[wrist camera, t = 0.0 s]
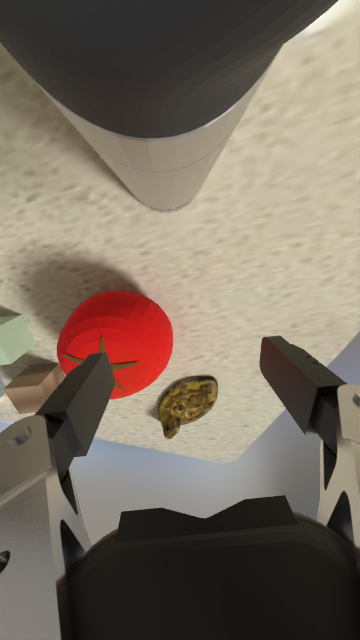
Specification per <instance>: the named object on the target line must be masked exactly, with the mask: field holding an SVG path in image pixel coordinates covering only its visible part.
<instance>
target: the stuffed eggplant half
mask: <svg viewBox="0 0 360 640" xmlns="http://www.w3.org/2000/svg"><path fill="white" fill-rule="evenodd" d="M217 394H218V384H217V381H216V379H215V378H213V377H211V378H201V377H192V378H188V379H185V380H182V381H180V382H178V383H177V384H175V385H174V386H173V387H171V388H170V389H169V390H168V391H167V392H166V393H165V395H164V396H163V398H162V399H161V402H160V404H159V418H160V421H161V424H162V427H163V432H164V436H165V438H166V439H171V438H172V437H173V436H174V435H175V434H176V433H178V431H179V428H180V425H184V424H187V423H191V422H193V421H196V420H198V419H199V418H201V417H202V416H204V415H205V414H206V413H207V412H208V411H209V410H211V409H212V407H213V406H214V404H215V402H216V399H217Z"/></svg>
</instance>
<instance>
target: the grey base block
mask: <svg viewBox="0 0 360 640" xmlns="http://www.w3.org/2000/svg"><path fill="white" fill-rule="evenodd" d="M5 387H6V386H5V384H4V382H3V381H2V379H1V378H0V397H1V396H3V395H4V394H5V391H4V390H3V389H4V388H5Z"/></svg>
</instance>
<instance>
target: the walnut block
mask: <svg viewBox="0 0 360 640" xmlns="http://www.w3.org/2000/svg"><path fill="white" fill-rule="evenodd" d="M64 378H65V376H64V374H63V372H62V369H61V367H60V365H59V364H48V365H38V366H28V367H27V368H26V369H25V370H24V371H23V372H22V373H21V374H20V375H18V376H17V377H16V378H15V379H14V380H13V381H12V382H11V383H10V384H8V385H7V386H6V387H5V388H4V389H3V390H4V391H5V393H6V394H7V396H8V397H9V399H10V400H11V402H12V403H13V405H14V406H15V408H16V409H17V411H18V412H19V414H23V413H33V412H37V411H38V410H39V409H40V408H41V406H42V405H43V404H44V403H45V401H46V400H47V399H48V398H49V396H50V395H51V394H52V393H53V392H54V390H55V389H57V388H58V385H59V384H60V383H61V382H62V381H63V379H64Z"/></svg>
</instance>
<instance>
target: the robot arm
mask: <svg viewBox="0 0 360 640" xmlns="http://www.w3.org/2000/svg"><path fill="white" fill-rule="evenodd" d="M337 1H338V0H0V42H1V44H2V45H3V46H4V47H5V48H6V49H7V50H8V52H9V53H10V54H11V55H12V56H13V57H14V58H15V60H16V61H17V62H18V63H19V64H20V65H21V67H22V68H23V69H24V70H25V71H26V72H27V73H28V75H29V76H30V77H31V78H32V79H33V80H34V81H35V83H36V84H37V85H38V86H39V87H40V88H41V89H42V91H43V92H44V93H45V94H46V95H47V96H48V98H49V99H50V100H51V101H52V102H53V103H54V104H55V106H56V107H57V108H58V109H59V110H60V111H61V112H62V114H63V115H64V116H65V117H66V118H67V119H68V120H69V122H70V123H71V124H72V125H73V126H74V127H75V128H76V129H77V130H78V131H79V133H80V134H81V135H82V136H83V137H84V138H85V140H86V141H87V142H88V143H89V144H90V145H91V146H92V148H93V149H94V150H95V151H96V152H97V153H98V154H99V156H100V157H101V158H102V159H103V160H104V161H105V163H106V164H107V165H108V166H109V167H110V168H111V169H112V171H113V172H114V173H115V174H116V175H117V176H118V178H119V179H120V180H121V181H122V182H123V183H124V184H125V186H126V187H127V188H128V189H129V190H130V191H131V193H132V194H133V195H134V196H135V197H136V198H137V199H138V200H139V201H140V202H141V203H142V204H143V205H145V206H147V207H148V208H150V209H152V210H155V211H159V212H172V211H176V210H179V209H181V208H183V207H185V206H186V205H187V204H188V203H190V202H191V201H192V200H193V198H194V197H195V196H196V195H197V193H198V192H199V190H200V188H201V186H202V185H203V183H204V182H205V180H206V178H207V176H208V175H209V173H210V171H211V169H212V168H213V166H214V164H215V163H216V161H217V159H218V157H219V156H220V154H221V152H222V150H223V149H224V147H225V145H226V143H227V142H228V140H229V138H230V137H231V135H232V133H233V131H234V130H235V128H236V126H237V124H238V123H239V121H240V119H241V118H242V116H243V114H244V112H245V111H246V109H247V107H248V105H249V103H250V101H251V100H252V98H253V96H254V94H255V93H256V91H257V89H258V87H259V86H260V84H261V82H262V80H263V79H264V77H265V75H266V73H267V72H268V70H269V68H270V67H271V65H272V63H273V61H274V60H275V58H276V56H277V54H278V53H279V51H280V49H281V47H282V46H283V44H284V43H286V42H287V41H288V40H290V39H291V38H293V37H294V36H295V35H297V34H298V33H300V32H301V31H302V30H304V29H305V28H306V27H308V26H309V25H310V24H311V23H312V22H314V21H315V20H316V19H317V18H319V17H320V16H321V15H322V14H324V13H325V12H326V11H327V10H328V9H329V8H331V7H332V6H333V5H334V4H335V3H336V2H337ZM260 369H261V372H262V374H263V376H264V377H265V379H266V380H267V382H268V383H269V384H270V386H271V387H272V389H273V390H274V391H275V393H276V394H277V396H278V397H279V399H280V400H281V401H282V403H283V404H284V406H285V407H286V409H287V410H288V411H289V413H290V414H291V416H292V417H293V418H294V420H295V421H296V423H297V424H298V426H299V427H300V428H301V430H302V431H303V433H304V434H305V435H311V434H318V435H319V436H320V437H321V439H322V440H321V444H320V504H319V510H318V517H317V521H316V520H314V519H312V518H310V517H308V516H305V515H303V514H300V513H297V512H294V511H292V510H291V508H290V505H289V503H288V501H287V499H286V497H285V495H284V496H274V497H264V498H255V499H245V500H243V501H241V502H239V503H237V504H235V505H233V506H231V507H229V508H227V509H225V510H223V511H221V512H219V513H217V514H215V515H213V516H211V517H208V518H198V517H195V516H190V515H187V514H183V513H179V512H176V511H172V510H168V509H164V508H154V509H144V510H134V511H124V512H121V516H120V522H119V527H118V529H116V530H113V531H112V532H110V533H109V534H107V535H106V536H104V537H103V538H102V539H100V540H99V541H98V542H97V543H95V544H94V545H93V546H92V545H91V541H90V538H89V536H88V533H87V530H86V528H85V525H84V522H83V518H82V514H81V509H80V505H79V500H78V496H77V492H76V487H75V483H74V478H73V474H72V470H71V467H70V464H71V462H72V460H73V458H74V457H80V456H86V455H87V452H88V450H89V448H90V445H91V443H92V440H93V438H94V435H95V433H96V431H97V428H98V426H99V423H100V421H101V418H102V416H103V413H104V411H105V409H106V406H107V404H108V401H109V399H110V396H111V394H112V392H113V389H114V384H115V379H114V374H113V371H112V367H111V364H110V360H109V357H108V354H107V353H106V352H103V353H93V354H89V355H88V356H87V358H86V359H85V360H84V362H83V363H82V364H81V365H78V366H77V367H75V368H74V369H73V370H71V371H70V372H69V373H68V374H67V376H66V377H65V378H64V379H63V381H62V382H61V383H60V384H59V385H58V388H57V389H55V390H54V392H53V393H52V394H51V395H50V396H49V398H48V399H47V400H46V401H45V403H44V404H43V405H42V406H41V408H40V409H39V410H38V411H37V412H36V414H35V415H33V416H28V417H25V418H23V419H21V420H19V421H17V422H15V423H13V424H12V425H10V426H9V427H7V428H6V429H5V430H4V431H2V432H1V433H0V640H360V385H353V384H347V383H345V382H344V381H343V380H342V379H340V378H339V377H338V376H336V375H335V374H334V373H333V372H331V371H330V370H329V369H328V368H326V367H325V366H324V365H323V364H321V363H319V361H317V360H316V359H315V358H314V357H312V356H311V355H310V354H309V353H307V352H306V351H305V350H304V349H301V348H299V347H297V346H295V345H293V344H290V343H288V342H287V341H286V340H285V339H284V338H282V337H281V336H270V337H264V338H263V339H262V343H261V354H260Z"/></svg>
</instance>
